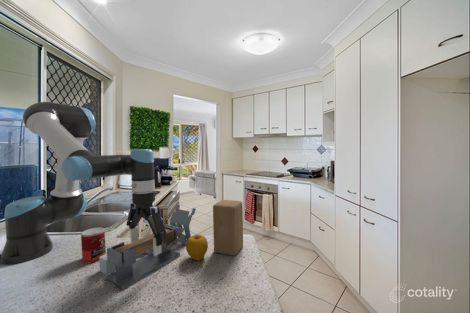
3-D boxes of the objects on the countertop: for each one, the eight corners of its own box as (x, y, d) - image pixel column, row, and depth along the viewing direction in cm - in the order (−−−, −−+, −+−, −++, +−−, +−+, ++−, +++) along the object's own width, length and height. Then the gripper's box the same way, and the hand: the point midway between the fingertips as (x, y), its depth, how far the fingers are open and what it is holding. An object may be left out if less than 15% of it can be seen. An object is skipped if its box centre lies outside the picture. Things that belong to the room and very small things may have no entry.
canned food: (94, 264, 75) (92, 235, 75) (76, 262, 77) (75, 234, 77) (110, 253, 83) (109, 227, 83) (94, 252, 85) (93, 226, 84)
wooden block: (213, 252, 82) (211, 204, 81) (223, 242, 91) (222, 199, 91) (235, 257, 78) (234, 207, 78) (244, 245, 88) (243, 200, 87)
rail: (114, 260, 65) (114, 249, 65) (165, 237, 82) (164, 228, 82) (120, 263, 63) (120, 252, 63) (171, 239, 80) (170, 230, 80)
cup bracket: (105, 279, 66) (104, 247, 66) (163, 249, 85) (162, 224, 85) (122, 290, 61) (120, 256, 60) (179, 256, 80) (179, 229, 80)
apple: (184, 255, 81) (183, 233, 80) (205, 250, 84) (204, 229, 84) (188, 266, 73) (187, 242, 73) (210, 260, 76) (210, 238, 76)
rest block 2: (141, 250, 85) (141, 239, 85) (149, 247, 88) (149, 235, 88) (148, 254, 82) (148, 242, 82) (157, 249, 86) (156, 238, 85)
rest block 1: (99, 270, 71) (99, 256, 71) (111, 265, 75) (111, 251, 75) (106, 275, 69) (106, 260, 68) (118, 269, 72) (118, 255, 72)
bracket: (196, 239, 95) (195, 208, 94) (180, 248, 86) (179, 214, 86) (178, 233, 102) (177, 204, 101) (161, 241, 93) (160, 210, 93)
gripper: (114, 190, 76) (117, 245, 76) (156, 197, 62) (158, 264, 63) (133, 187, 82) (135, 237, 83) (175, 193, 69) (177, 253, 69)
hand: (145, 249), depth 73 cm, fingers open, 13 cm apart
